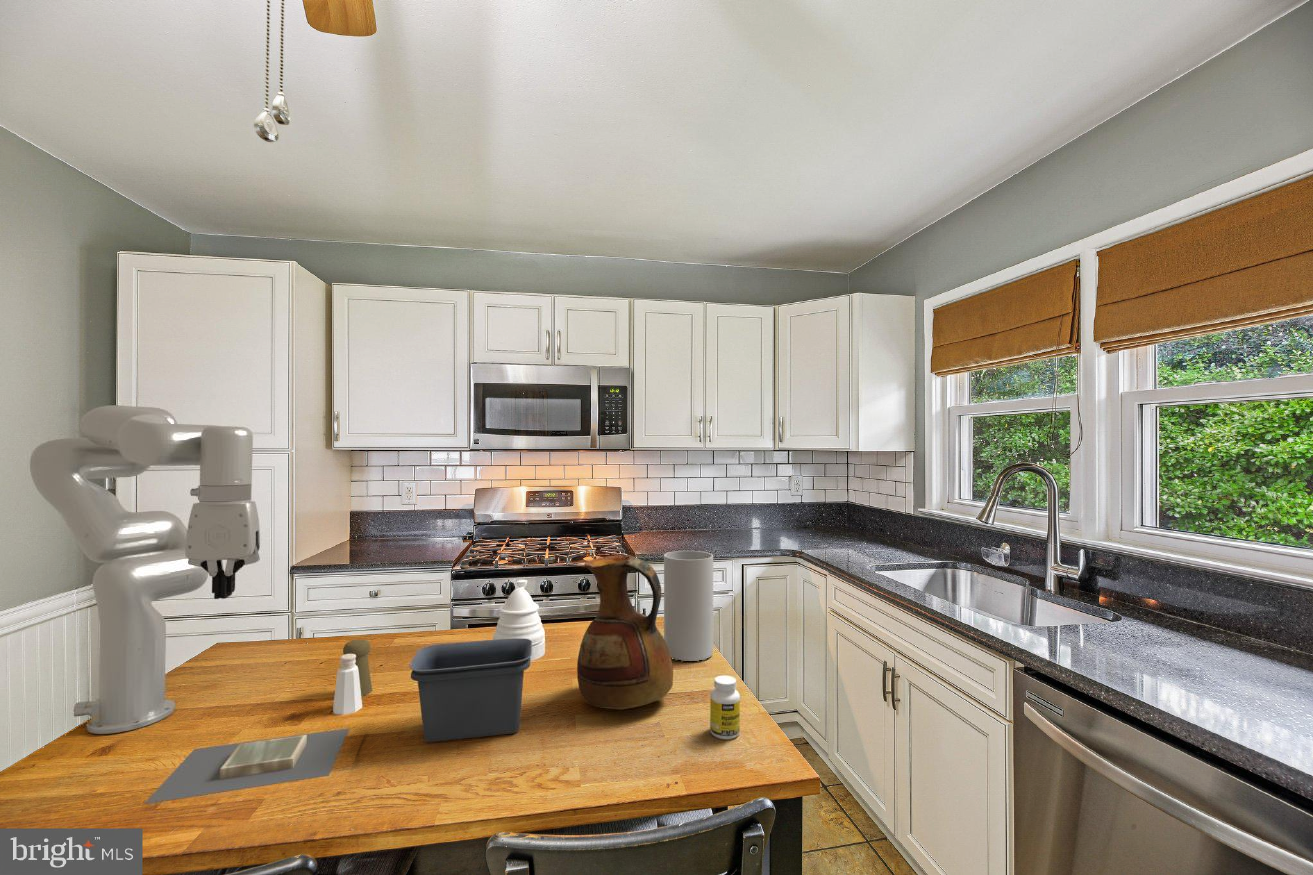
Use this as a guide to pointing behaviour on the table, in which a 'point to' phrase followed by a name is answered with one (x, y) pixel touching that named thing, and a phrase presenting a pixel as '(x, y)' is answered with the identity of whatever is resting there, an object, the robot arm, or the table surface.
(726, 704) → the supplement bottle
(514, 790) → the table surface
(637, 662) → the ceramic pitcher
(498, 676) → the storage bin
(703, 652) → the cylinder vase
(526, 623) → the honey pot
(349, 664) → the salt shaker
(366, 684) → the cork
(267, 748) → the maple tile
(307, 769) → the rubber mat
